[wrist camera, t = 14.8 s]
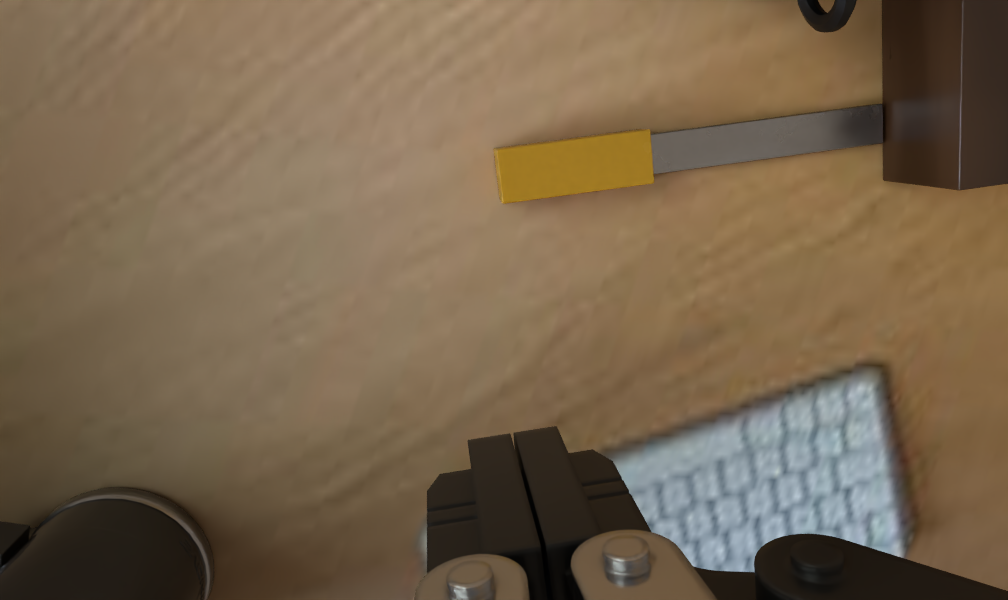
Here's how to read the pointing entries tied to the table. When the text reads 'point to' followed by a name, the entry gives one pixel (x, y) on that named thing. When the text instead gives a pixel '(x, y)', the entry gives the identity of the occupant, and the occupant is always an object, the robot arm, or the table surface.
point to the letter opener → (673, 151)
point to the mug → (826, 14)
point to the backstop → (945, 92)
